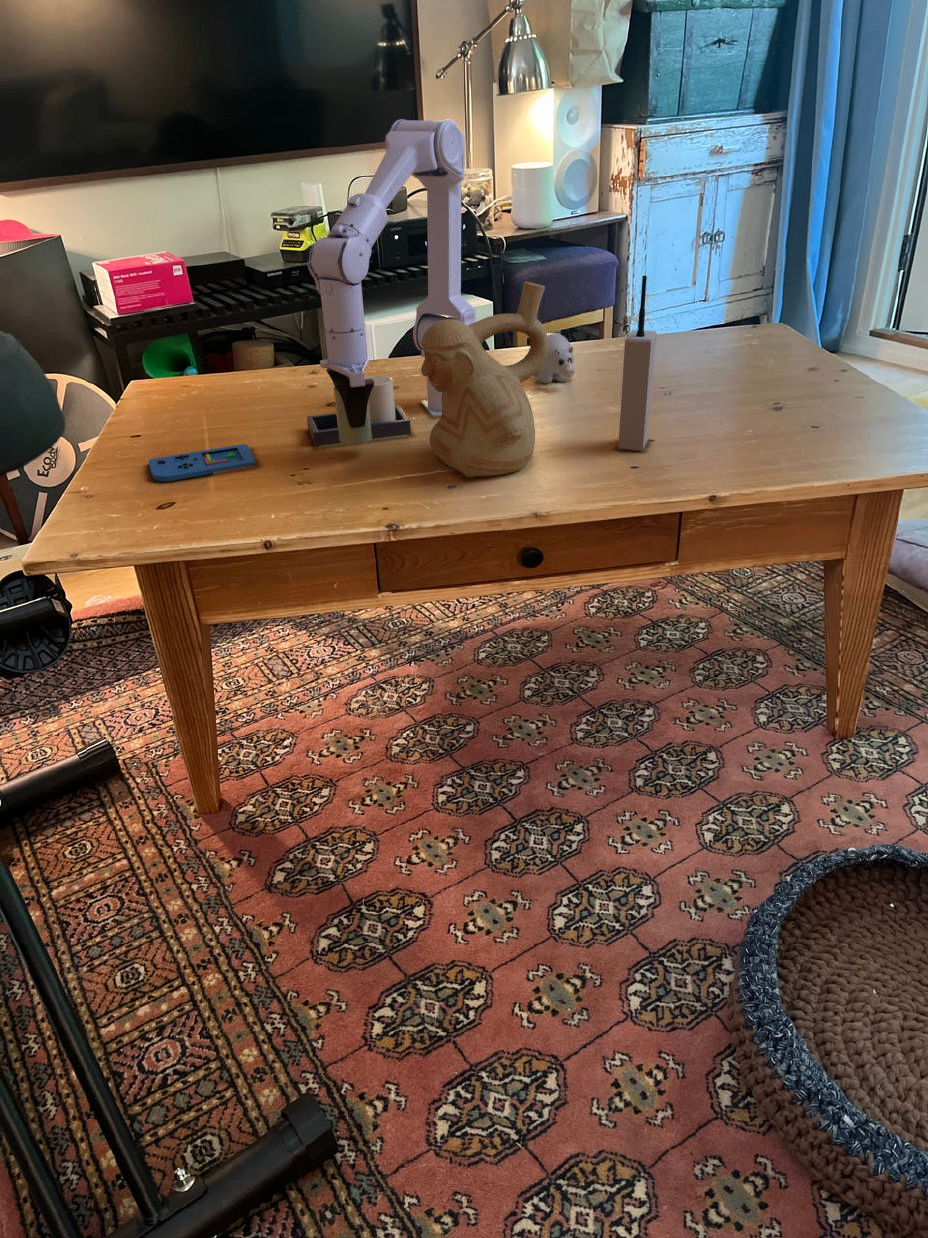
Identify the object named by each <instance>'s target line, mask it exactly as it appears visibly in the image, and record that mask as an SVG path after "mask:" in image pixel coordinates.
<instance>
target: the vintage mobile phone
mask: <svg viewBox="0 0 928 1238" xmlns="http://www.w3.org/2000/svg"><path fill="white" fill-rule="evenodd" d="M647 280H648V276H647V275H645V274H644V275H643V276H642V278H641V292H640V307H639V311H638V324H637V329H632V330H631V331H630V332H629V333H628V335H627V336H626V337H625V339H624V348H623V349H624V351H623V365H622V366H623V367H622V382H621V399H620V414H619V429H618V430H619V432H618V449H619V450H623V451H630V452H631V451H634V452H643V450H644V449H645V447H646V444H647V443H648V440H649V434H650V428H649V427H650V426H649V425H650V424H649V423H650V411H651V399H652V398H651V397H652V389H653V375H654V374H653V373H654V367H655V357H656V345H657V331H656V330H645V319H646V307H645V306H646V292H647Z"/></svg>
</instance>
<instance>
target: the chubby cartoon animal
mask: <svg viewBox="0 0 928 1238" xmlns="http://www.w3.org/2000/svg"><path fill="white" fill-rule="evenodd" d="M547 337H548V344H549V345H548V351H547V355H546V358H545V361H544V362H543V364H542V366H541V368H540V369H539V370H538V371H537V372H536V373H535V374H534V375H533V376H532V377H534V378H538V381H539V383H542V384H550V383H552V382H553V379H555V381H556V382H561V383H563V382H567V381H568V380H569V379H571V378H573V377H574V375H575V371H576V370H575V367H574V364H575V357H574V354H573V353H574V352H573V351H574V347H573V346H572V345H571V343H570V341H569V340H568V339H567V338H566V337H565V336H564V335H562V334H560V333H557V332H549V333H547Z"/></svg>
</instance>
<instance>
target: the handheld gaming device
mask: <svg viewBox="0 0 928 1238" xmlns="http://www.w3.org/2000/svg"><path fill="white" fill-rule="evenodd" d="M256 464H257V462H256V458H255V456H254V455H253V453H252V451H251V449H250V447H249V446H248V444H246V443H240V444H234V445H230V446H229V445H228V446H224V447H223V446H222V447H217V448H211V449H205V450H204V449H203V450H199V451H198V450H197V451H193V452H186V453H180V454H174V455H173V454H172V455H167V456H161V457H153V458H150V459H149V460H148V465H149V468H150V472H151V473H150V474H151V477H152V479H153V480H154V481H157V482H173V481H179V480H185V479H190V478H195V477H196V478H197V477H202V476H208V475H214V473H217V472H223V471H229V470H235V469H240V468H246V467H252V466H255V465H256Z"/></svg>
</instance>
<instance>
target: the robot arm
mask: <svg viewBox="0 0 928 1238" xmlns="http://www.w3.org/2000/svg"><path fill="white" fill-rule="evenodd" d="M465 140H466V137H465V135H464V133H463V132H462V130H461V129H460V127H459V125H458V124H457V122H456V121H454V120H453V119H447V118H446V119H444V120H407V119H404V118H403V119H401V118H400V119H397V120H395V121H394V123H392V125H391V128H390V130H389V132H387V134H386V135H385V140H384V141H385V142H384V143H385V144H384V145H385V153H384V154H383V157H382V159H381V161H380V163H379V165H378V167H377V169H376V171H375V173H374V175H373V176H372V178H371V180H370V182H369V184H368V187H367V188H366V190H365V191H364V193H363V192H362V193H356V194H354V195H352V196H350V197H349V198H348V200H347V201H346V205H345V208H344V209H343V210H342V212H341V214H340V215H339V217H338V218H337V220H336V221H335V223H334V224H333V226H332V227H331V230H330V231H329V232H328V234H327V236H323V237H319V238H318V239H317V240H316V241H315V242H314V243H313V244H312V246H311V248H310V251H309V257H308V259H309V260H307V268H308V271H309V273H310V276H312V278H313V280H314V281H315V286H316V291H317V292H318V294H319V295H320V301H321V309H322V318H323V326H324V337H325V344H326V345H325V346H326V353H327V358H326V359H321V360H319V365H320V368H321V369H326V371H325V372H326V373H327V374H328V376H329V378H330V380H331V382H332V383H333V386H334V387H336V389H337V390H338V392H339V394H340V396H341V398H342V401H343V404H344V407H345V411H346V416H347V419H348V422H349V425H350V427H351V428H358V427H364V426H365V422H366V413H367V405H368V400H369V396H370V393H371V391H372V389H373V387H374V381H373V379H365V378H366V377H365V373H366V370H367V369H368V367H369V366H370V363H371V362H370V357H369V355H368V346H367V344H368V343H367V333H366V324H365V323H366V322H365V312H364V300H363V288H362V281H363V280H364V279H365V278H366V277H367V275H368V271H369V266H370V258H371V256H372V252H373V250H372V248H373V246H374V244H375V243H376V241H377V240H378V238H379V236H380V235H381V233H382V231H383V230H384V228H385V227H386V225H387V223H388V214H387V210H386V209H387V208H388V207H389V205H390V204H391V202H392V201H393V200H394V198H395V197H396V195H397V194H398V193H399V192H400V191H401V189H402V188H403V187H404V185H405V184H406V183H407V181H408V180H409V178H410V177H411V176H412V177H414V178H415V179H417V180H418V181H419V183H420V184H422V186H423V187H424V188H425V189H426V209H427V210H426V211H427V213H426V215H427V216H426V217H427V219H426V220H427V222H426V223H427V292H428V293H427V297H426V298H425V299H423V301H421V302H420V304H418V305H417V306H416V308H415V309H416V311H415V314H416V317H415V322H414V325H413V329H412V338H413V342H414V345H415V348H417V350H418V351H420V354H421V357H422V358H425V355H424V347H423V346H422V344H421V340H422V337H423V335H424V333H425V331H426V330H427V329H428V328H429V327H430V326H431V325H433V324H434V323H436V322H438V321H441V320H446V319H452V320H458V321H460V322H462V323H464V324H465V325H467V326H468V325H471V324H473V323H475V322H477V319H476V318H477V317H476V309H475V307H474V306H473V305H472V304H471V303H470V302H469V301H468V300H466V299H465V298H464V297H463V295H462V294H461V291H462V290H461V289H462V181H463V180H464V179H465V157H466V155H465V153H466V152H465V151H466V150H465V148H466V147H465V143H466V142H465ZM425 377H426V395H427V399H424V400H421V404H422V405H423V406H424V408H425V409H426V410H427V412H428V413H429V414H430V415H431V416H432V417H435V416H442V392H438V391H437V390H436V389H435V388H434V387H433V386H431V383H430V381H429V380H428V376H425Z"/></svg>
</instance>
